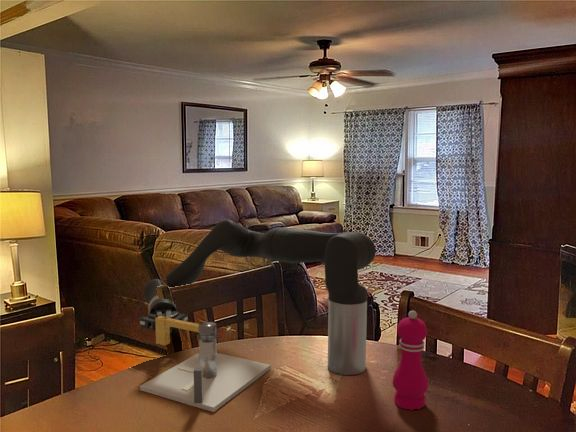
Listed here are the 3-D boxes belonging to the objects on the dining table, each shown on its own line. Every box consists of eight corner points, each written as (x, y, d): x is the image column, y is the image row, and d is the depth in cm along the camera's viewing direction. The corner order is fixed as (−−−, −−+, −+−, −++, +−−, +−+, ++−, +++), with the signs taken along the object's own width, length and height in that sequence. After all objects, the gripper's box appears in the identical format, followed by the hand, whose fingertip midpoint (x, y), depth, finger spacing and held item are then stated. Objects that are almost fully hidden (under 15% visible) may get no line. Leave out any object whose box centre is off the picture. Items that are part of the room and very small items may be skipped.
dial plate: (204, 353, 129) (203, 323, 128) (270, 368, 120) (270, 337, 119) (138, 390, 108) (137, 356, 108) (212, 413, 99) (211, 375, 98)
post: (206, 369, 117) (206, 335, 116) (220, 373, 115) (219, 338, 114) (196, 376, 113) (195, 341, 112) (210, 380, 112) (209, 344, 110)
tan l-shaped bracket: (220, 352, 114) (219, 323, 114) (209, 358, 111) (209, 329, 110) (164, 339, 122) (163, 312, 121) (152, 345, 119) (152, 317, 118)
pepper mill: (428, 413, 99) (432, 317, 97) (392, 409, 101) (394, 315, 98) (426, 396, 106) (429, 306, 104) (391, 393, 108) (394, 304, 105)
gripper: (137, 299, 137) (137, 318, 121) (185, 295, 141) (192, 313, 125) (138, 325, 138) (139, 348, 122) (186, 320, 142) (193, 342, 125)
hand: (166, 330), depth 123 cm, fingers closed
